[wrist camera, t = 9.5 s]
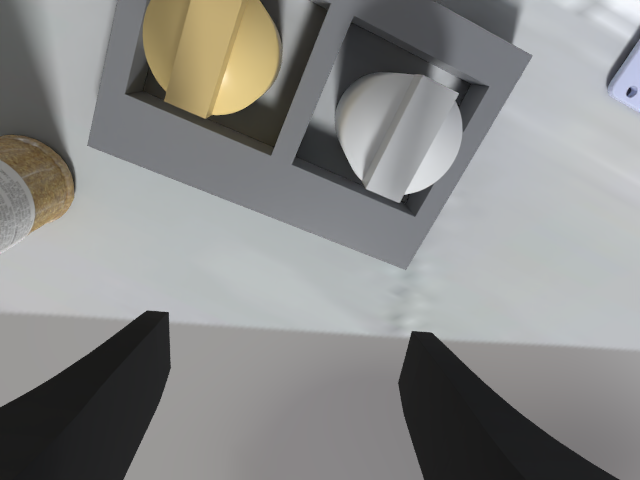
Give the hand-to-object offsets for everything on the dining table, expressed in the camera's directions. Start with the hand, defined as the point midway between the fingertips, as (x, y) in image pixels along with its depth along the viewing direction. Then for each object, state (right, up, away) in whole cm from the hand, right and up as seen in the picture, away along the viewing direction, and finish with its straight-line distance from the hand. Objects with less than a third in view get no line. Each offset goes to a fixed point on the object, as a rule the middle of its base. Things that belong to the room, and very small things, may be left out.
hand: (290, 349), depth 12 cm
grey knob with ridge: (+4, +9, +8) cm, 12 cm away
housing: (0, +10, +7) cm, 12 cm away
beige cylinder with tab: (-3, +12, +6) cm, 14 cm away
